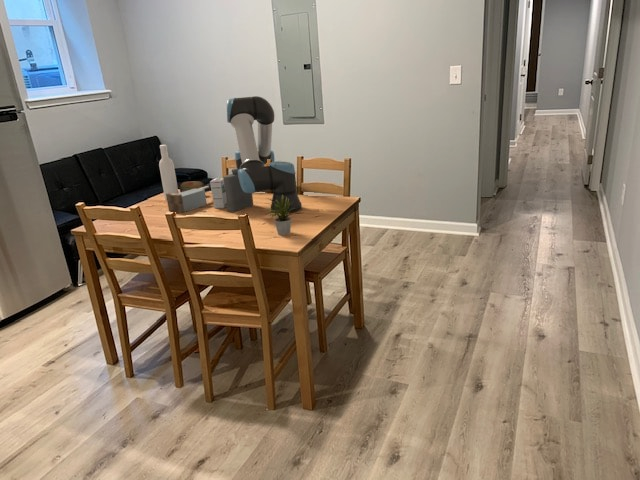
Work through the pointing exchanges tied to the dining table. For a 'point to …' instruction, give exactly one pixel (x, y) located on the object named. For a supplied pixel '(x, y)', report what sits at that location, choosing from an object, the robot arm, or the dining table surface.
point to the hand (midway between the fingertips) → (199, 191)
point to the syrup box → (218, 193)
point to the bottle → (167, 172)
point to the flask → (236, 193)
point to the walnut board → (175, 202)
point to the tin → (190, 186)
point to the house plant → (282, 217)
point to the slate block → (193, 199)
